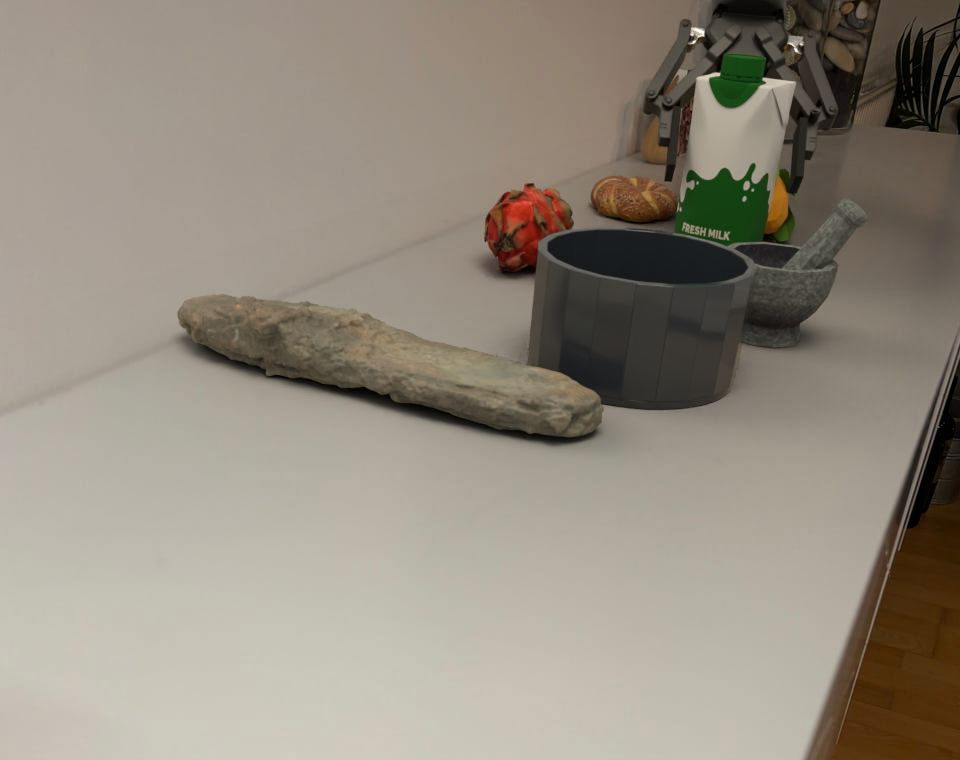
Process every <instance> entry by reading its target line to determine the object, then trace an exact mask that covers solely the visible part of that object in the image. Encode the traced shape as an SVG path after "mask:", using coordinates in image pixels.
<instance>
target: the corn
mask: <svg viewBox="0 0 960 760" xmlns="http://www.w3.org/2000/svg"><path fill="white" fill-rule="evenodd" d="M790 173H791V172H790V171H788V170H787V169H786V168H779V167H778V172H777V177H776V182H775V187H774V191H773V196H772V201H771V206H770V211H769V215H768V220H767V224H766V228H765V232H764V235H770V234H772V235H773V237H774V238H775V239H776V240H777V241H778V242H779V243H781V242H786V241H788V240H789V239H790V238H791V236H792V235H793V232H794V229H795V226H796V221H795V219H796V218H795V216H794V213H793V211H792V209H791V207H790V205H789V194H790V195H792V196H793V197H794V202H797V194H795V193H789V186H790Z"/></svg>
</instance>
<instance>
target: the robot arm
mask: <svg viewBox="0 0 960 760" xmlns="http://www.w3.org/2000/svg"><path fill="white" fill-rule="evenodd" d="M786 9H787V0H711V1H710V9H709V10H710V13H709V20H708V21H709V22H708V23H707V25H706V26H705V27H699V26H693V24H692V20H690V19H688V18H683V19H681V20H680V21H679V25H678V30H677V36H676V39H675V41H674V43H673V44H672V46H671V48H670V50H669V51H668V53H667V55H666V56H665V57H664V60H663V61H662V63H661V64H660V66H659V67H658V70H657V71H656V73H655V75H654V76H653V78H652V79H651V81H650V83H649V85H648V86H647V88H646V90H645V92H644V98H643V104H642V112H643V114H644V115H652V114H653V115H655V116H656V117H657V118H658V131H657V139H656V140H657V141H656V142H657V146H658V147H662V148H667V152H666V161H665V171H664V178H663V179H664V180H663V182H666V183H667V182H668V183H672V182H673V178H674V175H675V170H676V166H677V157H678V156H677V155H678V147H679V137H680V126H681V116H682V109H683V108H684V107H685V106H686V105H687V104H688V103H689V102H690V101H691V100H692V99H694V96H695V87H696V78H697V77H700V76H705V75H709V74H712V73H721V72H720V71H721V66H722V60H723V55H724V54H729V53H732V54H747V55H755V56H761V57H765V58H766V64H765V70H764V76H763V78H770V79H778V80H785V81H793V82H796V86H795V90H794V94H793V99H792V103H791V108H790V112H789V116H790V117H791V119H792V120H793V121H794V123H795V124H796V127H795V130H794V133H793V135H792V147H791V159H790V160H791V161H790V172H789V173H790V186H789V193H795V194H796V195H797V193H798V191H799V188H800V187H801V184H802V182H803V179H804V176H805V165H806V161H811V160H812V158H813V156H814V154H815V151H816V149H817V146H818V145H817V144H818V143H817V142H818V131H819V130H822V131H825V132H827V131H830V130H831V129H832V127H833V124H834V123H835V120H836V118H837V115H838V113H839V106H838V103H837V101H836V98H835V96H834V93H833V91H832V90H833V89H832V88H831V85H830V82H829V80H828V78H827V75H826V72H825V69H824V67H823V65H822V64H823V63H822V61H821V59H820V56H819V53H818V51H817V32H816V30H813V29H807V30H806V31H804V34H803V35H790V34H789V33H788V31H787V29H786V26H785V25H786V24H785V23H786ZM699 44H702V47H703V48H704V50H705V51H706V53H705V55H704V57H703V58H702V59H701V60H700V61H699V62H698V63H696V64H695V66H694V67H693V68H692V69H690V70H689V72H688V73H687V74H685V75H684V76H683V78H682V79H680V80H679V82H678V83H677V84H675V86H674V87H673V88H672V89H670V90H669V92H668V93H667V94H666V92H667V90H668V89H669V87H670V85H671V84H672V82H673V80H674V79H675V76H676V75H677V73H679V70H680V68H681V67H682V65H683V64H684V62H685V60H686V56H687V54H691V53H692V51H694V50H695V49H696V48H697V45H699ZM785 51H787V52H789V53H790V54H791V57H792V61H793V62H794V63H795V64H797V69H798V73H799V76H800V78H801V81H802V84H803V86H802V85H801V83H800V82H799V80H798V78H797V77H796V76H795V75H794V73H793V71H792V70H791V68H789V66H788V65H787V63H786V57H785V55H784V53H785ZM789 193H788V194H789Z"/></svg>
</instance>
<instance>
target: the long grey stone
mask: <svg viewBox="0 0 960 760" xmlns="http://www.w3.org/2000/svg"><path fill="white" fill-rule="evenodd" d="M177 319H178V325H179V327H181V328H182V329H184V330H186V333H187V337H188V339H189V340H192V341H193V342H194V343H196V344H201V345H203V346H206V347H208V348H209V349H211V350H213V351H214V352H216V353H218V354H221V355H223V356H224V357H227V358H228V359H229V360H231V361H238V362H240V363H241V362H243V363H245V364H247V365H249V366H257V367H259V368H260V369H261V370H265V375H266V376H267V377H273V376H276V375H277V376H283V377H285V378H290V379H297V378H302V379H309V380H312V381H314V382H318V383H320V384H323V385H334V386H337V387H338V388H340V389H348V388H350V389H355V388H362V387H365V388H366V389H368V390H369V391H373V392H376V393H378V394H379V395H381V396H384V395H389V397H390V399H391V400H392V401H393V402H395V403H400V404H401V403H402V404H414V405H415V404H416V405H422V406H424V407H429V408H433V409H435V410H439V411H441V412H446V413H449V414H451V415H452V416H454V417H458V418H460V419H464V420H465V419H466V420H469V421H471V422H474V423H477V424H483V425H486V426H488V427H490V428H493V429H495V430H498V431H503V430H507V431H522V432H525V433H527V434H529V435H531V434H540V435H543V436H551V437H562V438H575V437H581V436H586V435H587V434H591V433H593V432H594V431H595V430H596V429H598V427H599V425H601V424H602V422H603V421H602V420H603V413H604V410H605V408H604V406H603V404H602V403H601V398H600V396H599V395H597V393H596V392H595V391H593V390H591V389H588V388H586V387H584V386H582V385H580V384H579V383H578V382H577V381H574V380H572V379H571V378H570V377H568V376H566V375H564V374H562V373H560V372H556V371H551V370H548V369H544V368H540V367H532V366H528V364H524V363H520V362H517V361H514V360H511V359H508V358H502V357H499V356H497V355H494V354H489V353H486V352H482V351H477V350H474V349H470V348H467V347H459V346H456V345H452V344H448V343H444V342H438V341H432V340H428V339H424V338H422V337H421V336H418V335H417V334H414V333H412V332H410V331H408V330H404V329H400V328H397V327H395V326H392V325H390V324H387V322H384V321H382V320H381V319H377V318H375V317H373V316H372V315H371V314H369V313H367V312H361V311H358V310H357V309H356V308H353V307H352V308H344V307H340V308H335V307H332V306H327V305H320V304H317V303H315V304H314V303H312V302H310V301H308V300H304V301H300V302H289V301H282V300H276V299H275V300H273V299H261V298H257V297H255V296H250V295H242V296H240V297H237V296H233V295H229V294H225V293H219V294H209V295H208V294H207V295H198V296H194V297H190V298H187V299H185V300H184V301H183V303H182V304H181V306H180V307H179V308H178V310H177Z"/></svg>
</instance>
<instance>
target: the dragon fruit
mask: <svg viewBox="0 0 960 760" xmlns="http://www.w3.org/2000/svg"><path fill="white" fill-rule="evenodd" d="M572 216H573V210H572V206H570V204H569V203H568V202H567V201H566V200H564V199H563V198H562V197H561V194H560V192H559V190H557V189H556V188H551V187H547V188H545V189H544V191H542V190H541V188H537V187H536V186H535V183H534V182H525V183H524V185H523V188H522V190H516V189H510V190H507V191H506V192H504V193H503V194H502V195H501V196H500V197H499V199H498V200H497V201H496V203H495V204H494V206H492V208H491V209H490V210H489V211H488V213H487V214H486V217H485V219H484V234H483V235H484V236H483V241H484V242H485V243H487V246H488V248H489V250H490V251H491V253H492V254H493V256H494V257H495V258H497V259H496V260H497V262H498V266H497V271H499V272H501V273H503V272H510V273H516V272H518V271H520V270H521V269H523V268H527V266H532V267H533V268H534V269H535V270H536V263H537V252H538V242H539V241H541V240H542V239H544V238H545V237H547V236H548V235H550V234H554V233H558V232H562V231H566V230H571V229H573V227H574V225H575V221H574V219H573V218H572Z"/></svg>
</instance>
